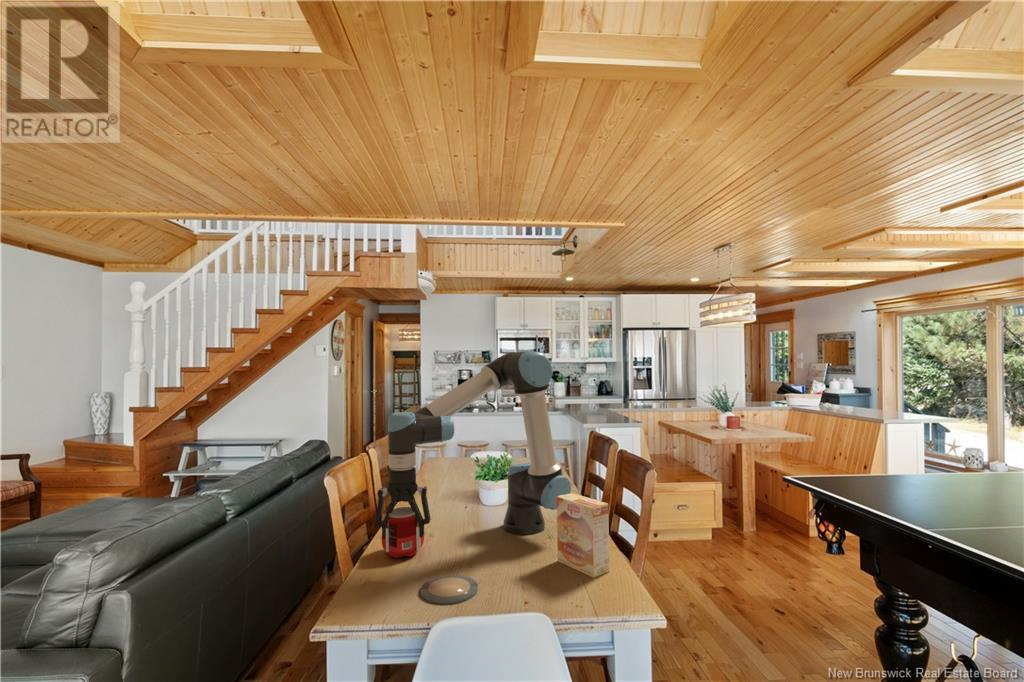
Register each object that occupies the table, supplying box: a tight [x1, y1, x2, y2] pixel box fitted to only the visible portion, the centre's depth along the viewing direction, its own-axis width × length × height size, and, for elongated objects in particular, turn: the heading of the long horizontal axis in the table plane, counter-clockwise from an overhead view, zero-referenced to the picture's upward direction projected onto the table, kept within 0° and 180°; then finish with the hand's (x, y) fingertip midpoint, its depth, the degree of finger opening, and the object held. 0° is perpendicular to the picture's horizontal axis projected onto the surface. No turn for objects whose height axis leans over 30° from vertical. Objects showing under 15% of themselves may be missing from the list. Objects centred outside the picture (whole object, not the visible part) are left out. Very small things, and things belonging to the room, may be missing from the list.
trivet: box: [420, 574, 479, 605], centre depth 127 cm, size 15×15×1 cm
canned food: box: [389, 506, 417, 557], centre depth 136 cm, size 8×8×11 cm
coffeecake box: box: [556, 492, 610, 579], centre depth 142 cm, size 15×7×20 cm, turn 37°
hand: (403, 549), depth 135 cm, fingers closed on canned food, 8 cm apart
